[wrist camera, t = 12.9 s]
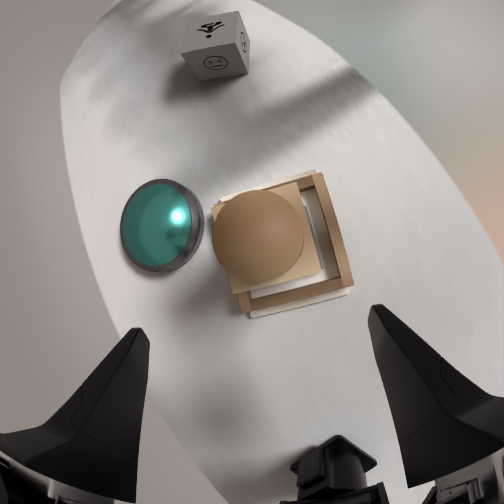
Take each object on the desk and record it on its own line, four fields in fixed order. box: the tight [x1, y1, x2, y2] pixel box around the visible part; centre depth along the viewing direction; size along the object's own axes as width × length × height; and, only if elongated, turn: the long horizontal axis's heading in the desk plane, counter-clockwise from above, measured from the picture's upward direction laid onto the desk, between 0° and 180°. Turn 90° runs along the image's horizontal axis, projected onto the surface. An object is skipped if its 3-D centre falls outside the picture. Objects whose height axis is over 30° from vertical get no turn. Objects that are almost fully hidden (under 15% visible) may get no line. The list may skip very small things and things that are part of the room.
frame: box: [214, 170, 354, 318], centre depth 21 cm, size 10×9×2 cm
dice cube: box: [180, 11, 250, 81], centre depth 21 cm, size 5×5×5 cm
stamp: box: [211, 182, 323, 294], centre depth 16 cm, size 5×5×11 cm
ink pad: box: [120, 179, 204, 272], centre depth 23 cm, size 8×8×2 cm
